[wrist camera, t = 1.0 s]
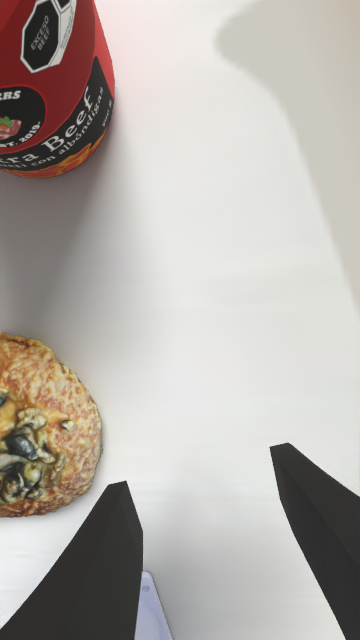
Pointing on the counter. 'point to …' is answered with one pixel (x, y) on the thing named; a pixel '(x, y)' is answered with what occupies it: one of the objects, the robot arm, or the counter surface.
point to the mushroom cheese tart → (43, 430)
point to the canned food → (52, 85)
